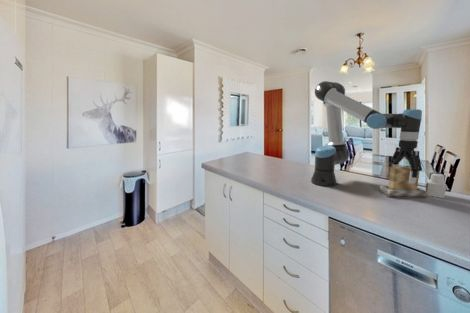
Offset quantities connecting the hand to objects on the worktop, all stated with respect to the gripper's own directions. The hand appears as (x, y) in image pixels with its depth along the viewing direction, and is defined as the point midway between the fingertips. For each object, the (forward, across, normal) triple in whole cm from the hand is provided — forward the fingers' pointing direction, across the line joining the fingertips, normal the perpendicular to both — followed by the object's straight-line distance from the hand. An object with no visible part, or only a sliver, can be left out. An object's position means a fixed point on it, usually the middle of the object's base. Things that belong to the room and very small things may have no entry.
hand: (402, 179), depth 115 cm
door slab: (+7, 0, 0) cm, 7 cm away
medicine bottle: (+8, 0, -17) cm, 19 cm away
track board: (+8, 0, 0) cm, 8 cm away
